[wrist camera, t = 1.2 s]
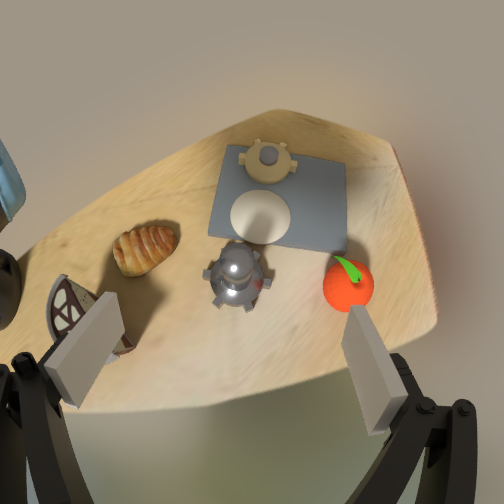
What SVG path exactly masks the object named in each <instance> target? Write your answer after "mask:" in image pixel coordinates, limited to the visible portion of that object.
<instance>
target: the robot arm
mask: <svg viewBox="0 0 504 504" xmlns="http://www.w3.org/2000/svg"><path fill="white" fill-rule="evenodd" d="M25 199H26V191H25V187H24V184H23V182H22V179H21V177H20V175H19V173H18V171H17V168H16V166H15V165H14V163H13V160H12V159H11V157H10V155H9V153H8V151H7V150H6V148H5V146H4V145H3V143H2V141H1V140H0V232H1V231H2V230H3V229H4V227H5V226H6V225H7V224H8V223H9V222H11V221H12V218H13V217H14V215H15V214H16V213H17V212H18V211H19V209H20V208H21V207H22V206H23V204H24V202H25ZM20 294H21V275H20V270H19V266H18V264H17V262H16V260H15V258H14V257H13V256H12V255H11V254H9V253H7V252H6V251H4V250H2V249H0V331H1V330H3V329H5V328H6V327H7V326H8V325H9V324H10V322H11V321H12V319H13V318H14V316H15V313H16V311H17V308H18V305H19V300H20ZM124 332H125V328H124V324H123V320H122V316H121V312H120V307H119V303H118V299H117V294H116V292H107V291H105V292H104V293H103V295H102V296H101V297H100V298H99V299H98V300H97V301H96V302H95V304H94V305H93V306H92V307H91V308H90V309H89V310H88V311H87V313H86V314H85V315H84V316H83V317H82V318H81V320H80V321H79V322H78V323H77V324H76V326H75V327H74V328H73V329H72V330H71V331H70V333H68V332H66V333H64V334H63V335H61V336H60V337H59V338H58V339H57V340H56V341H55V342H54V345H52V346H51V347H50V349H49V350H48V351H47V352H46V353H45V355H44V356H43V357H42V358H41V360H40V361H39V362H38V363H36V361H35V359H34V357H33V355H32V354H31V353H29V352H22V353H19V354H17V355H16V356H15V357H14V358H13V359H12V362H11V365H12V367H13V368H14V370H15V372H10V370H9V368H8V366H7V365H5V364H0V504H28V503H27V484H26V457H27V459H28V463H29V468H30V473H31V477H32V481H33V484H34V488H35V492H36V495H37V498H38V502H39V504H94V502H93V500H92V498H91V496H90V493H89V491H88V489H87V486H86V484H85V481H84V479H83V476H82V473H81V471H80V468H79V465H78V463H77V460H76V457H75V454H74V451H73V448H72V444H71V441H70V438H69V434H68V431H67V427H66V424H65V420H64V416H63V412H62V407H61V405H60V403H59V401H60V400H61V398H62V399H63V400H64V402H65V404H66V405H67V406H70V407H72V408H75V409H78V410H79V408H80V406H81V404H82V402H83V400H84V399H85V397H86V395H87V393H88V392H89V390H90V388H91V386H92V385H93V383H94V381H95V379H96V378H97V376H98V374H99V373H100V371H101V369H102V368H103V366H104V364H105V363H106V361H107V359H108V358H109V356H110V354H111V353H112V351H113V349H114V348H115V346H116V345H117V343H118V341H119V340H120V338H121V337H122V335H123V333H124ZM341 345H342V348H343V351H344V354H345V357H346V360H347V363H348V367H349V370H350V373H351V376H352V379H353V383H354V386H355V389H356V392H357V396H358V399H359V403H360V406H361V409H362V413H363V416H364V420H365V424H366V427H367V431H368V434H369V435H370V436H371V435H376V434H382V433H385V431H386V430H387V428H388V427H390V430H391V434H390V436H389V437H388V438H387V440H386V441H385V442H384V446H383V448H382V449H381V451H380V453H379V454H378V456H377V458H376V459H375V461H374V463H373V464H372V466H371V467H370V469H369V470H368V472H367V474H366V475H365V476H364V478H363V480H362V481H361V482H360V484H359V485H358V487H357V488H356V489H355V491H354V492H353V494H352V495H351V496H350V498H349V499H348V500H347V502H346V503H345V504H396V503H397V502H398V500H399V498H400V496H401V495H402V493H403V491H404V489H405V487H406V485H407V483H408V481H409V479H410V477H411V475H412V473H413V471H414V469H415V467H416V465H417V463H418V461H419V458H420V456H421V454H422V451H423V449H424V447H426V449H425V456H424V462H423V468H422V474H421V479H420V484H419V488H418V493H417V497H416V501H415V504H474V499H475V490H476V477H477V418H476V409H475V407H474V405H473V404H472V403H471V402H470V401H468V400H465V399H459V400H457V401H455V403H454V404H453V405H452V407H451V406H437V405H436V403H435V402H434V401H433V400H432V399H430V398H428V397H424V396H423V394H422V392H421V390H420V388H419V386H418V384H417V382H416V380H415V378H414V376H413V375H412V372H411V370H410V369H409V366H408V364H407V363H406V361H405V359H404V358H403V357H402V356H400V355H399V354H398V353H393V354H389V353H388V351H387V349H386V347H385V345H384V343H383V341H382V339H381V337H380V335H379V333H378V331H377V329H376V327H375V325H374V324H373V322H372V320H371V318H370V316H369V314H368V312H367V310H366V308H365V307H364V305H351V306H350V310H349V314H348V319H347V323H346V327H345V331H344V335H343V338H342V342H341ZM7 404H8V407H7Z"/></svg>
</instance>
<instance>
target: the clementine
mask: <svg viewBox="0 0 504 504" xmlns="http://www.w3.org/2000/svg"><path fill="white" fill-rule="evenodd" d="M332 257H335V258H336V259H338V260H339V263H337V264H335V265H333V266H332V267H331V268H330V269H329V270H328V272H327V274H326V275H325V278H324V281H323V292H324V296H325V298H326V300H327V302H328V303H329V304H330V305H331V306H332V307H333V308H335V309H336V310H339V311H342V312H349V310H350V306H351V305H364V306H365V305H366V304H367V303H368V302H369V301H370V299H371V297H372V294H373V289H374V281H373V277H372V275H371V273H370V271H369V270H368V268H367V267H366V266H364V265H363V264H362V263H360V262H357V261H354V260H345V259H344V258H342V257H339V256H332Z"/></svg>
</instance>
